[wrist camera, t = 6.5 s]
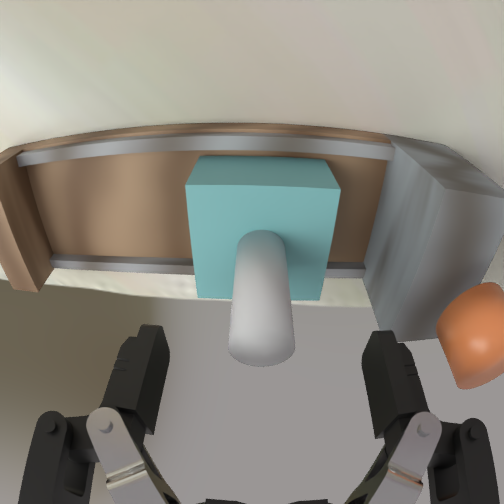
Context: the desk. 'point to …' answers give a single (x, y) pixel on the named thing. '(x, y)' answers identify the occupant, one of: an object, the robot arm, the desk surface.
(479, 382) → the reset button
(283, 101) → the desk surface
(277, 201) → the carriage
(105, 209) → the rail
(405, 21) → the desk surface
